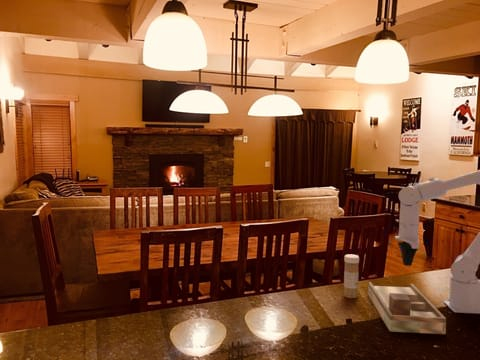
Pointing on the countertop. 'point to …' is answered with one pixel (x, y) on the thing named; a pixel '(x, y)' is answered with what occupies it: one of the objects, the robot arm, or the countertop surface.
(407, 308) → the walnut block
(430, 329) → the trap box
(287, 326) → the countertop surface
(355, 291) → the sprinkles bottle
